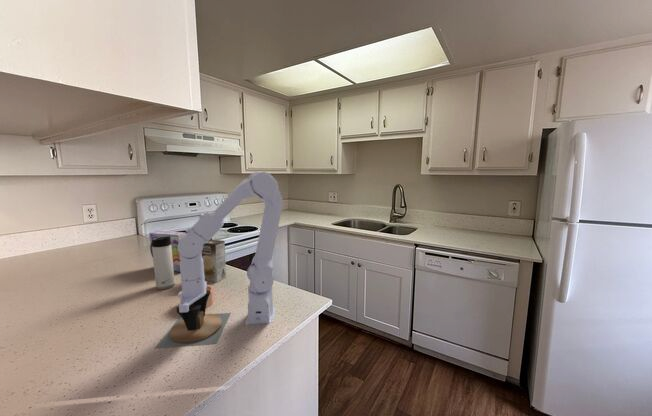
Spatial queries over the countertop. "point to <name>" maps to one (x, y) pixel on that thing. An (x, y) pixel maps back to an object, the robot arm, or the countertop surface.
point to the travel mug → (163, 263)
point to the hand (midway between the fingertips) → (196, 323)
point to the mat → (213, 339)
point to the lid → (204, 329)
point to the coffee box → (214, 260)
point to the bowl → (211, 296)
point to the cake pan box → (174, 245)
